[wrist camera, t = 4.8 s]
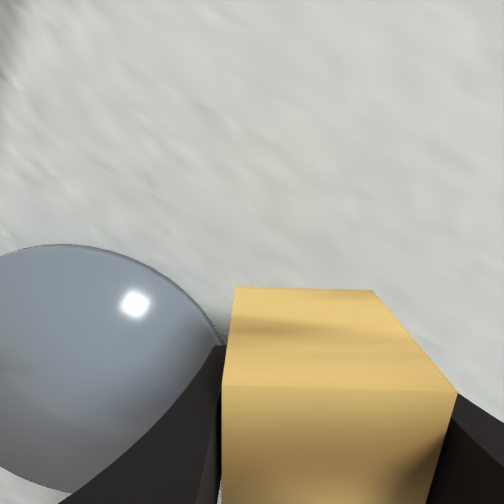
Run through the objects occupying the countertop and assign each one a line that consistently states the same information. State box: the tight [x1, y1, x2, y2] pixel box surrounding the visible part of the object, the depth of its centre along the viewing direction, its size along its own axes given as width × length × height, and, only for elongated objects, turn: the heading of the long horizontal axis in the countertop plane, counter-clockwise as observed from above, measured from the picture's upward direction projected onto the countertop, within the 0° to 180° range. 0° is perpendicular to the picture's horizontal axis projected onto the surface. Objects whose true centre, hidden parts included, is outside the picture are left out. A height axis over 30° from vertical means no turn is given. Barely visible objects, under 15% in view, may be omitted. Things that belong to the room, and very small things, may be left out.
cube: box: [222, 286, 458, 504], centre depth 10 cm, size 5×5×5 cm
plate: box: [0, 244, 223, 493], centre depth 19 cm, size 18×18×1 cm
